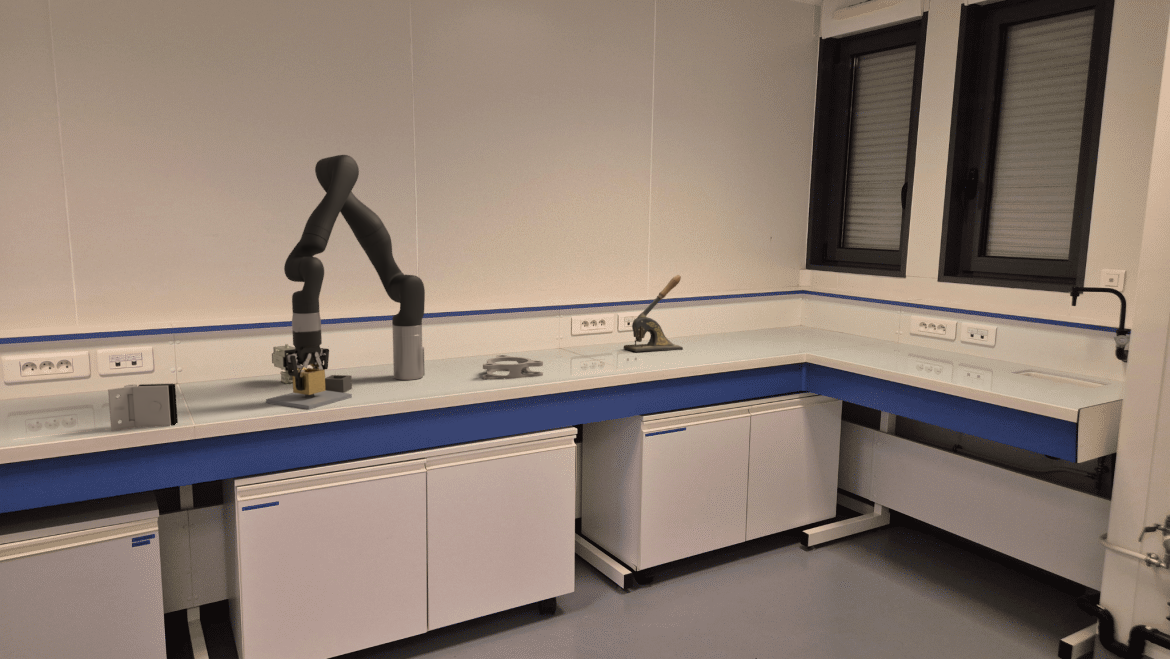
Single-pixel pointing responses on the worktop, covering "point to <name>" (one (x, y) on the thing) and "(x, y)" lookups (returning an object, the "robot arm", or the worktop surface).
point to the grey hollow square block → (338, 383)
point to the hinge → (143, 406)
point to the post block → (309, 399)
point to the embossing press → (652, 326)
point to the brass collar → (311, 381)
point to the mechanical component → (511, 367)
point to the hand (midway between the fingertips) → (309, 387)
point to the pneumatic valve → (283, 361)
